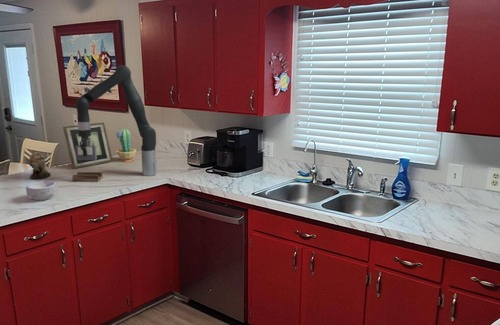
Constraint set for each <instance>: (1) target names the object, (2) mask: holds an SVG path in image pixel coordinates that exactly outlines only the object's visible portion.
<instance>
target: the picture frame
mask: <svg viewBox="0 0 500 325" xmlns="http://www.w3.org/2000/svg"><path fill="white" fill-rule="evenodd" d="M90 127H91V136H89V138H90V139H91V140H90V145H96V155H97V159H96V160H76V150H75V146H76V145H80V142H81V137H79V136H78V124H77V125H68V126H62V130H63V134H64V138H65V139H64V140H65V142H66V146H67V151H68V155H69V159H70V160H69V161H70V164H71V168H72V169H78V168H83V167H84V168H85V167H90V166H94V165H99V164H100V165H101V164H105V163H110V162H113V161H114V160H113V156H112V152H111V147H110V144H109V138H108V135H107V130H106V124H105V122H97V123H90Z"/></svg>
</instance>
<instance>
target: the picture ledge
mask: <svg viewBox="0 0 500 325" xmlns="http://www.w3.org/2000/svg"><path fill="white" fill-rule="evenodd" d="M103 178H104V177H103V171H77V172H76V174H72V182H73V183H79V182H80V183H83V182H84V183H88V182H89V183H90V182H91V183H93V182H94V183H97V182H98V183H99V182H100V181H101V180H102V179H103Z"/></svg>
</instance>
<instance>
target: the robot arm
mask: <svg viewBox="0 0 500 325" xmlns="http://www.w3.org/2000/svg"><path fill="white" fill-rule="evenodd" d="M131 75H132V70H131V69H130V67H128V66H127V65H123V64H121V65H118V66H116V68H115V71H114V72H113V73H112V74H111V75H110V76H109V77H107V78H106V79H104V80H102V81H101V82H98V83H97V84H96V85H95V86H93V87H92V88H91V89H89V90H88V91H87V92H85V93H84V94H82V95H80V96H79V97H78V98H77V99H76V101H75V106H76V112H77V117H76V118H77V125H78V136H79V137H81V142H80V147H81V150H83V156H87V145H90V140H91V139H90V138H89V136H91V127H90V124H91V122H90V120H91V119H90V114H89V105H90V104H91V103H93V102H94V101H96V100H98V99H100V98H101V97H102V96H104V95H105V94H106V93H107V92H108V91H111V89H112V88H114V87H115V86H116V85H118V84H120V86H121V88H122V91H123V92H124V93H123V94H124V97H125V101H126V102H127V105H128V108H129V110H130V112H131V114H132V116H133V118H134V120H135V123H136V126H137V129H138V133H139V135H140V137H141V139H142V140H141V141H142V142H141V143H142V144H141V147H140V148H141V167H142V168H141V169H142V170H141V172H142V176H144V177H151V176H156V175H157V174H158V166H157V159H156V148H157V147H156V146H157V134H156V130H155V129H154V128H153V127H151V125H150V123H149V121H148V119H147V116H146V115H147V114H146V109H145V106H144V103H143V100H142V97H141V96H140V94H139V92H138V89H137V88H136V87H135V85H134V82H133V80H132V76H131Z"/></svg>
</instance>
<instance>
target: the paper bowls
mask: <svg viewBox="0 0 500 325" xmlns="http://www.w3.org/2000/svg"><path fill="white" fill-rule="evenodd" d="M25 191H26V196H28V197H30V198H31V199H32V200H34V201H47V200H49V199H51V198H53V197H54V194H55V193H57V192H58V187H57V183H56V182H55V181H51V180H50V181H49V180H45V181H43V180H42V181H36V182H33V183H29V184H27V185H26V186H25Z"/></svg>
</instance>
